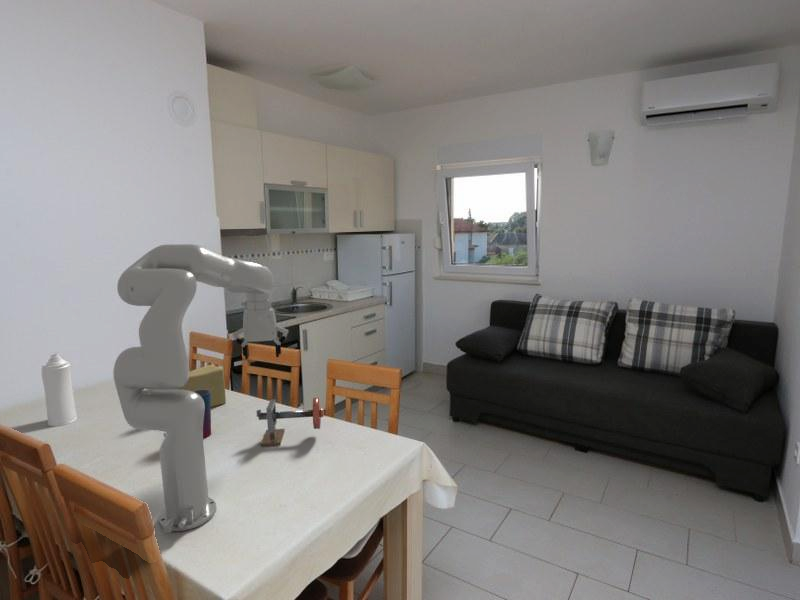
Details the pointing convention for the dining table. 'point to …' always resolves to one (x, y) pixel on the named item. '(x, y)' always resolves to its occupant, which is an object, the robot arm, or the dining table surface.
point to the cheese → (208, 383)
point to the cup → (206, 411)
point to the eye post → (272, 428)
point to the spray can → (58, 391)
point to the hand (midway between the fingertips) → (262, 357)
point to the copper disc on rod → (299, 414)
